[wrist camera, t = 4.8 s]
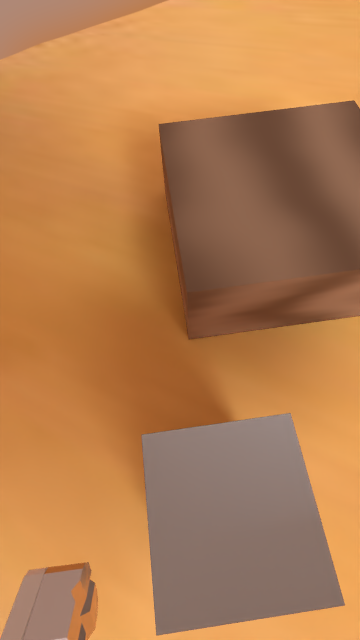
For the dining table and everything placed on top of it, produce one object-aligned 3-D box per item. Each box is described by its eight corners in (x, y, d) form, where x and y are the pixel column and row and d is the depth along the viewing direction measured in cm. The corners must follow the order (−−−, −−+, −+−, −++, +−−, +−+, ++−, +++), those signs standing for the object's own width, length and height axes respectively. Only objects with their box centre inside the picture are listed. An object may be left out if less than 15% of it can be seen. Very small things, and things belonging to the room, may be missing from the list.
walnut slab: (188, 339, 18) (186, 292, 14) (165, 191, 24) (158, 124, 19) (394, 310, 19) (457, 256, 14) (324, 171, 24) (354, 100, 20)
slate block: (176, 558, 14) (156, 635, 7) (165, 458, 16) (141, 434, 9) (268, 544, 14) (344, 605, 7) (247, 445, 16) (290, 412, 9)
